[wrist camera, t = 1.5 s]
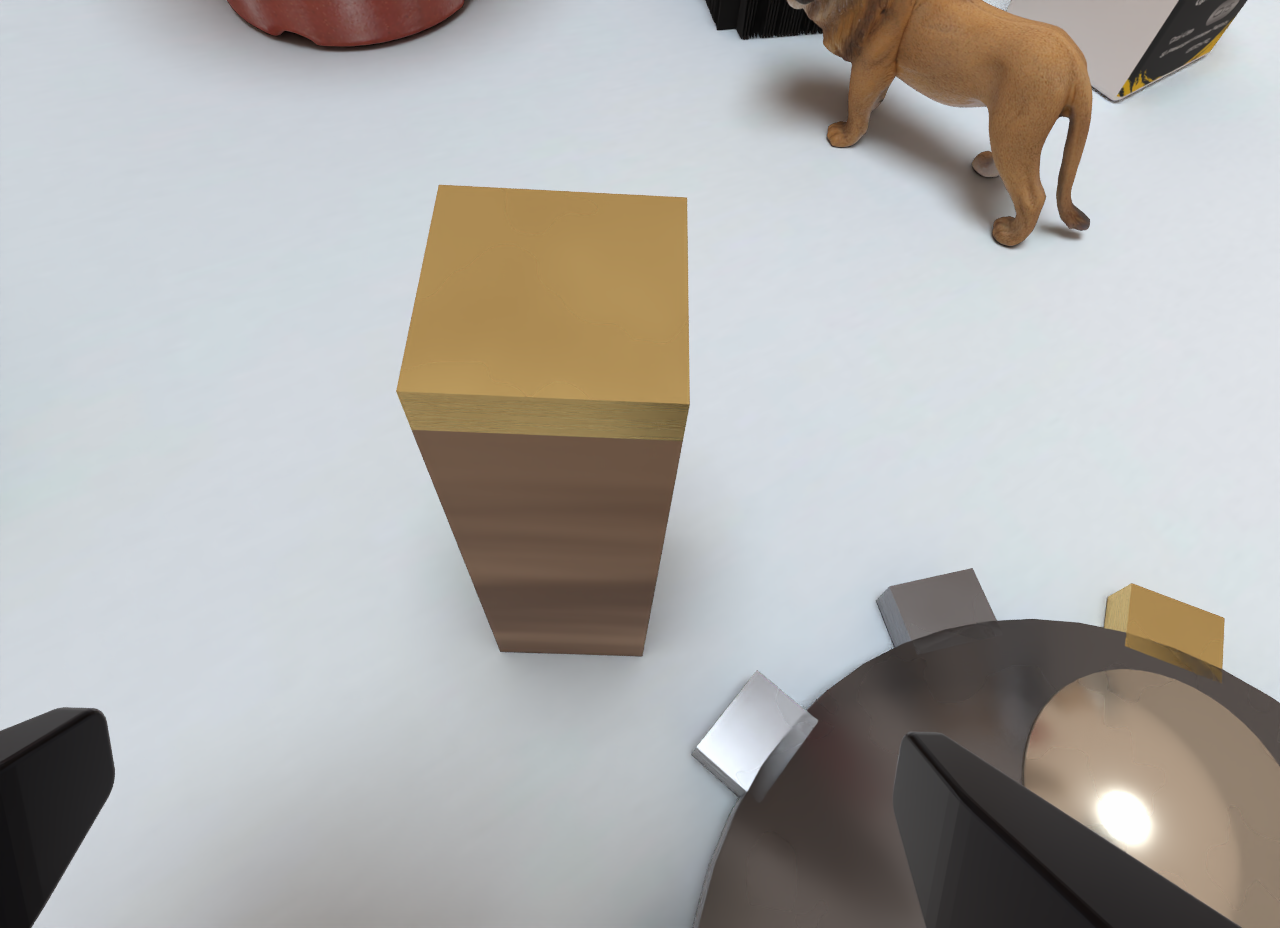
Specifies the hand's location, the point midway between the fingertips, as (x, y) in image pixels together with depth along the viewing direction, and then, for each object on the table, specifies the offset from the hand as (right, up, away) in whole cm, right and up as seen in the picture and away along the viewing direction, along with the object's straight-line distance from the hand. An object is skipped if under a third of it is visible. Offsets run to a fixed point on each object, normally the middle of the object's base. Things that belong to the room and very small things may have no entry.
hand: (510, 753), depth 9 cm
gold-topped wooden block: (0, 0, +14) cm, 14 cm away
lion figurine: (+12, +16, +24) cm, 31 cm away
